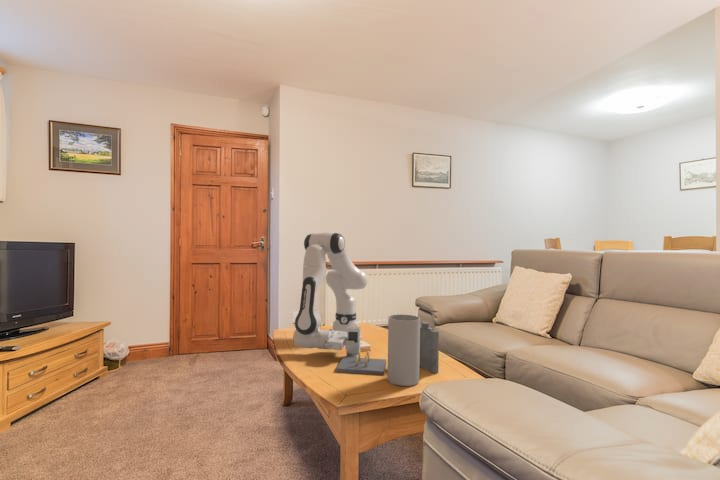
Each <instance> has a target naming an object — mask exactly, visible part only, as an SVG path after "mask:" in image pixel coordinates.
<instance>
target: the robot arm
mask: <svg viewBox="0 0 720 480" xmlns="http://www.w3.org/2000/svg"><path fill="white" fill-rule="evenodd" d="M303 246H304V250H305V252H304V257H303V265H302V266H303V267H302V287H301V288H302V289H301V294H300V295H301V297H300V304H299V311H298V313H297V314H296V317H295V320H294V327H295V330H294V331H293V334H292V335H293V336H292V338H293V343H294V345H295V346H296V347H299V348H304V349H319V350H333V351H334V350H335V351H341V350H343V349H344V347H345V346H347V345H354V344H355V341H354V340H351V341H347V328H348V327H359V322H357V313H356V298H355V297H354V296H353V295H351V294H350V292H349V291H348V290H362V289H365V288H366V287H367V284H368V283H369V282H368V280H369V278H368V275H367V274H366V272H365V271H362V270H361V269H359V268H358V267H357V266H356V265H355V264H354V263H353V261H352V260H351V258H350V255H349V253H348V250H347V246H346V241H345V237H344V236H343V235H342V234H341V233H336V232H334V233H333V232H318V233H310V234H309V233H308V234H307V235H306V237H305V238H304V241H303ZM326 255H327V256H326ZM327 257H328V261H329V263H330V266H331V268H332V270H329V271H328V272H327V273H326V267H327V266H326V265H327V261H326V260H327V259H326V258H327ZM324 280H325V282H326V284H327V286H328V287H329V288H330V289H331V290H332V292H333V294H334V296H335V303H336V305H335V306H336V308H335V309H336V310H335V311H336V312H335V315H334V316H335V318H334V319H335V320H334V321H333V322H332V328H331V329H321V326H322V322H323V318H322V315H321V313H320V312H319V311H318V310H315V309H314V307H315V300H316V293H317V290H318V289H319V287H320V286H321V285H322V283H323V282H324ZM362 338H363V337H362V332H361V331H360V339H362Z"/></svg>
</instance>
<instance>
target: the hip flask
mask: <svg viewBox="0 0 720 480" xmlns="http://www.w3.org/2000/svg"><path fill="white" fill-rule="evenodd" d="M439 341H440V331H439V330H437V329H435V328H432V327H430V322H429V321H420V363H419V367H420V368H419V369H423V370H425V371H427V372H429V373H431V374H434V375H435V374H436V375H437V374H439V362H440V361H439V356H440V355H439V353H440V352H439V351H440V350H439V349H440V347H439V346H440V342H439Z"/></svg>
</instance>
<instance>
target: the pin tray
mask: <svg viewBox="0 0 720 480" xmlns="http://www.w3.org/2000/svg"><path fill="white" fill-rule="evenodd" d="M386 366H387V359H386V358H385V359H384V358H370V350H367V351H366V355H364V357H361V349H360V350H359V351H358V355H356V356H355V358H353V357H346V356H342V358H341V360H340V362H339V363H338V365H337V367H336V368H335V369H336V371H335V372H336V373H344V374H346V373H348V374H358V375H359V374H361V375H362V374H364V375H376V376H377V375H379V376H384V375H385V371H386V368H387V367H386Z"/></svg>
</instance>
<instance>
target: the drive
mask: <svg viewBox="0 0 720 480" xmlns="http://www.w3.org/2000/svg"><path fill="white" fill-rule="evenodd" d="M360 332H361V327H360V326H358V327H348V328H347V341H351V340H354V341H355V344H354V345H346V354H345V355H346V356H345V357H353V358H355V356H356V355H358V351H359V350H360V351H361V338H360Z"/></svg>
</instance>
